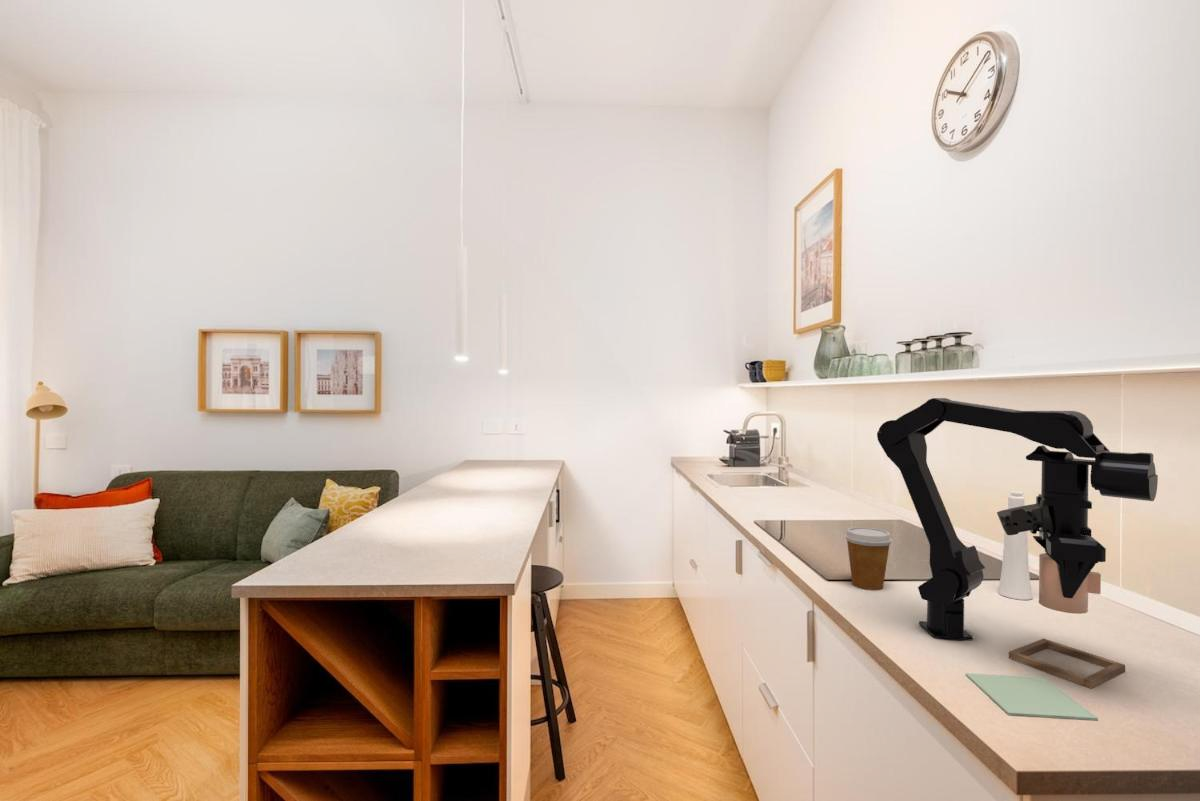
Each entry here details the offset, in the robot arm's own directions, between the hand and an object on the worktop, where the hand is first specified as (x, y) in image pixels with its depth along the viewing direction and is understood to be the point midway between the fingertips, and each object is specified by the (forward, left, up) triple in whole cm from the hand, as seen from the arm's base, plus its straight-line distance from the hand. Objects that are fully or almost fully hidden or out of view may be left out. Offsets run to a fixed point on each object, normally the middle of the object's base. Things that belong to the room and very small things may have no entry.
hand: (1062, 591), depth 91 cm
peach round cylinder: (0, 0, -2) cm, 2 cm away
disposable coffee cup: (-37, -17, -12) cm, 42 cm away
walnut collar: (-1, +1, -12) cm, 12 cm away
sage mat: (+10, -11, -12) cm, 19 cm away
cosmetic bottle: (-34, +12, -12) cm, 38 cm away
